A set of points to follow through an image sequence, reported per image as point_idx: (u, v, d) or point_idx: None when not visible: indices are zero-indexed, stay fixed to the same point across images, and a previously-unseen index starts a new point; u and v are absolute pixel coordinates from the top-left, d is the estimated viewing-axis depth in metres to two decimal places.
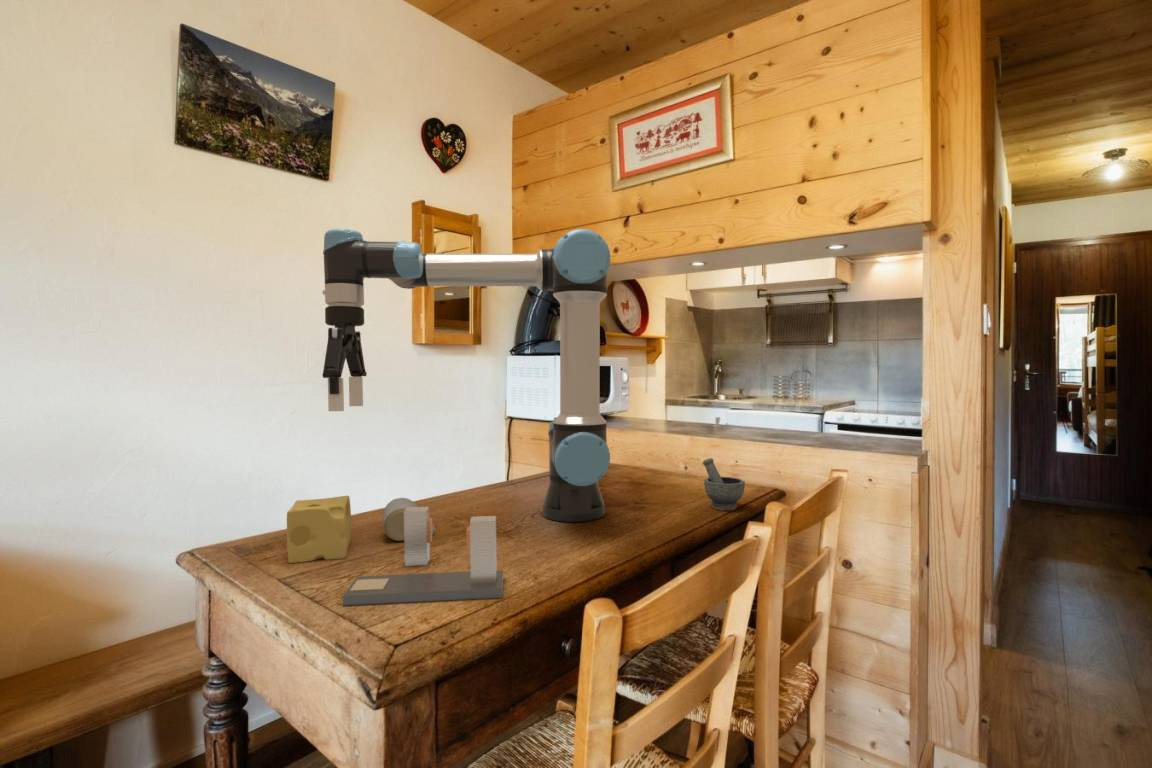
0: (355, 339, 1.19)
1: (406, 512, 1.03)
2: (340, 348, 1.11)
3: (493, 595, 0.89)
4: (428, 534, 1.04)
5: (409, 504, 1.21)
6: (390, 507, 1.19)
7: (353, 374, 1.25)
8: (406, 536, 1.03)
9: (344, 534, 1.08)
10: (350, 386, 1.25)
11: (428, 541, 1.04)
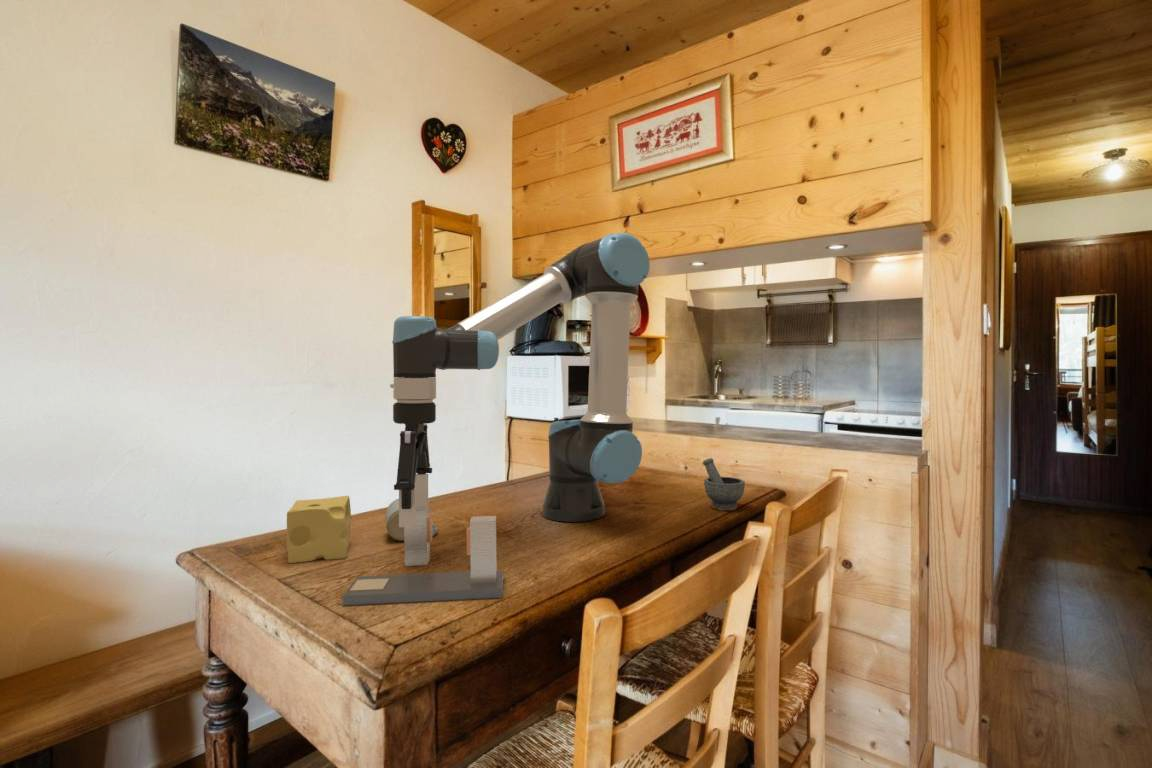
0: (425, 437, 1.05)
1: None
2: (414, 455, 0.97)
3: (493, 595, 0.89)
4: (428, 534, 1.04)
5: None
6: (393, 507, 1.20)
7: (418, 471, 1.11)
8: (406, 536, 1.03)
9: (344, 534, 1.08)
10: (415, 485, 1.11)
11: (428, 541, 1.04)
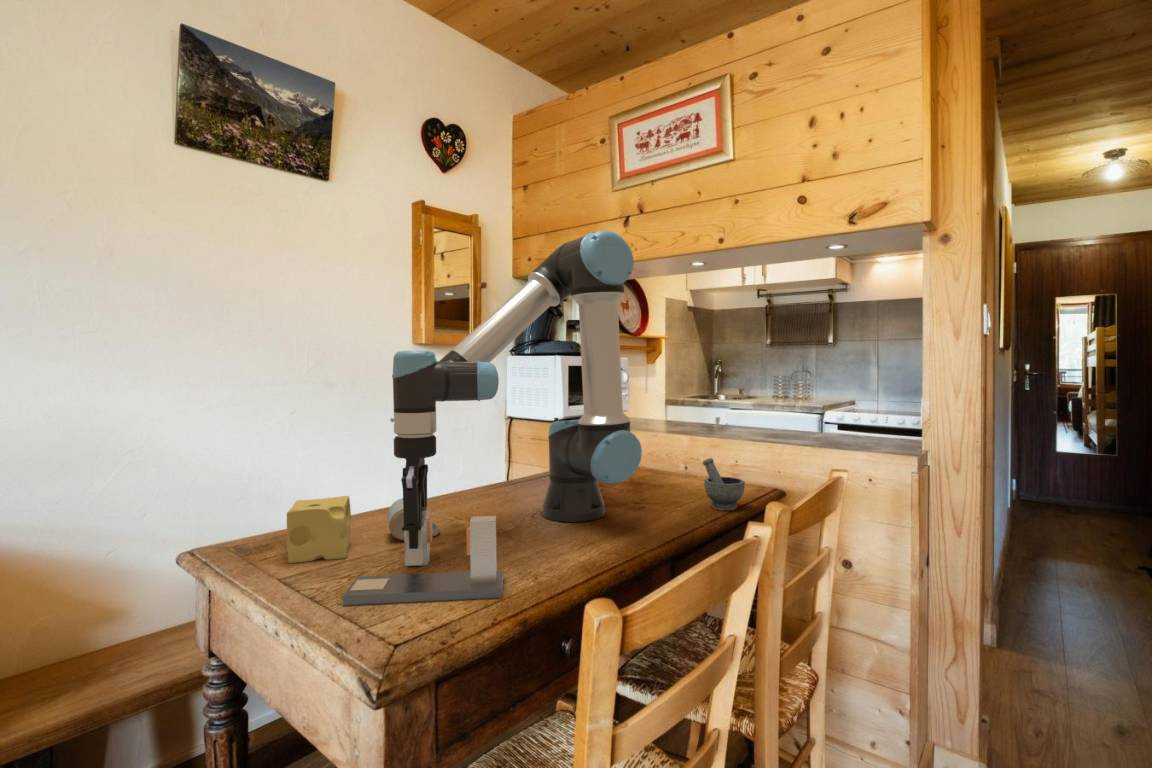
0: (426, 469, 1.05)
1: None
2: (417, 498, 1.00)
3: (493, 595, 0.89)
4: (428, 534, 1.04)
5: None
6: (395, 507, 1.20)
7: None
8: None
9: (344, 534, 1.08)
10: None
11: (428, 541, 1.04)
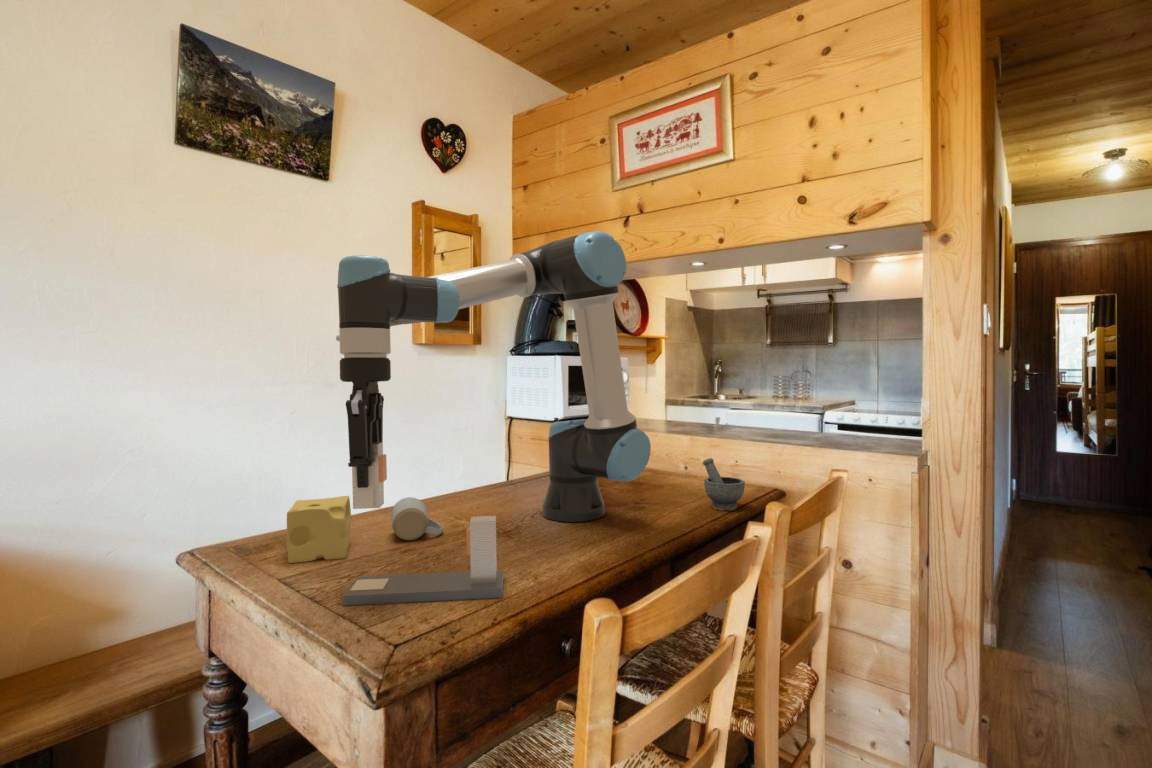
0: (378, 397, 0.90)
1: None
2: (366, 427, 0.85)
3: (493, 595, 0.89)
4: (380, 472, 0.89)
5: (417, 503, 1.21)
6: (399, 506, 1.20)
7: None
8: (354, 473, 0.88)
9: (344, 534, 1.08)
10: None
11: (380, 480, 0.89)
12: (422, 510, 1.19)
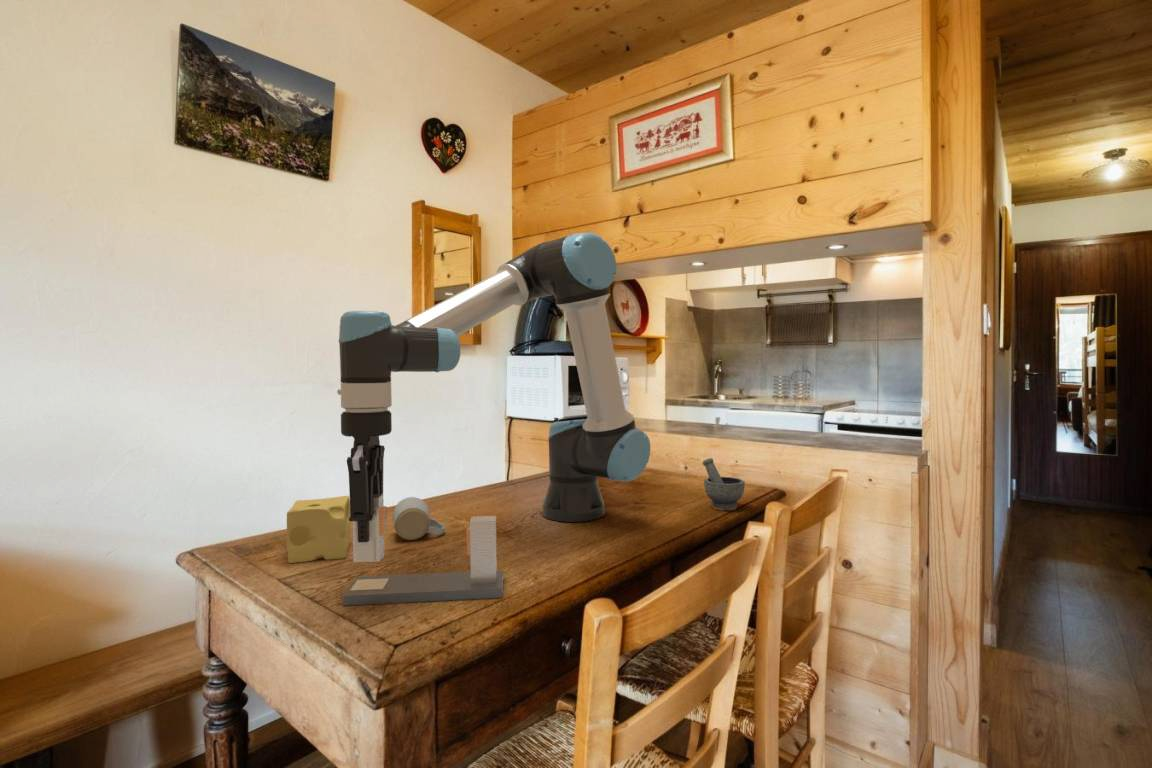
0: (379, 450, 0.91)
1: None
2: (366, 483, 0.85)
3: (493, 595, 0.89)
4: (381, 525, 0.89)
5: (419, 503, 1.21)
6: (401, 506, 1.20)
7: None
8: None
9: (344, 534, 1.08)
10: None
11: (381, 533, 0.89)
12: (424, 510, 1.19)
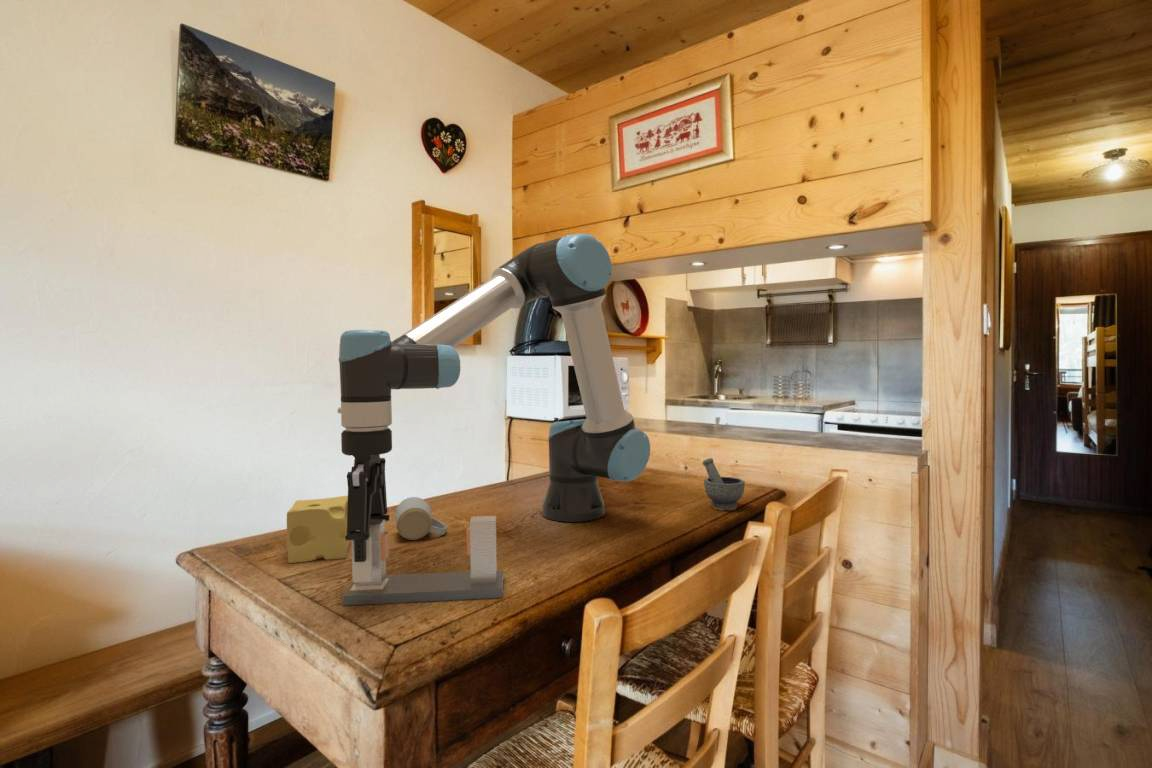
0: (380, 469, 0.91)
1: None
2: (365, 500, 0.84)
3: (493, 595, 0.89)
4: (382, 551, 0.89)
5: (421, 503, 1.22)
6: (403, 506, 1.20)
7: None
8: None
9: (344, 534, 1.08)
10: None
11: (382, 559, 0.89)
12: (426, 510, 1.19)
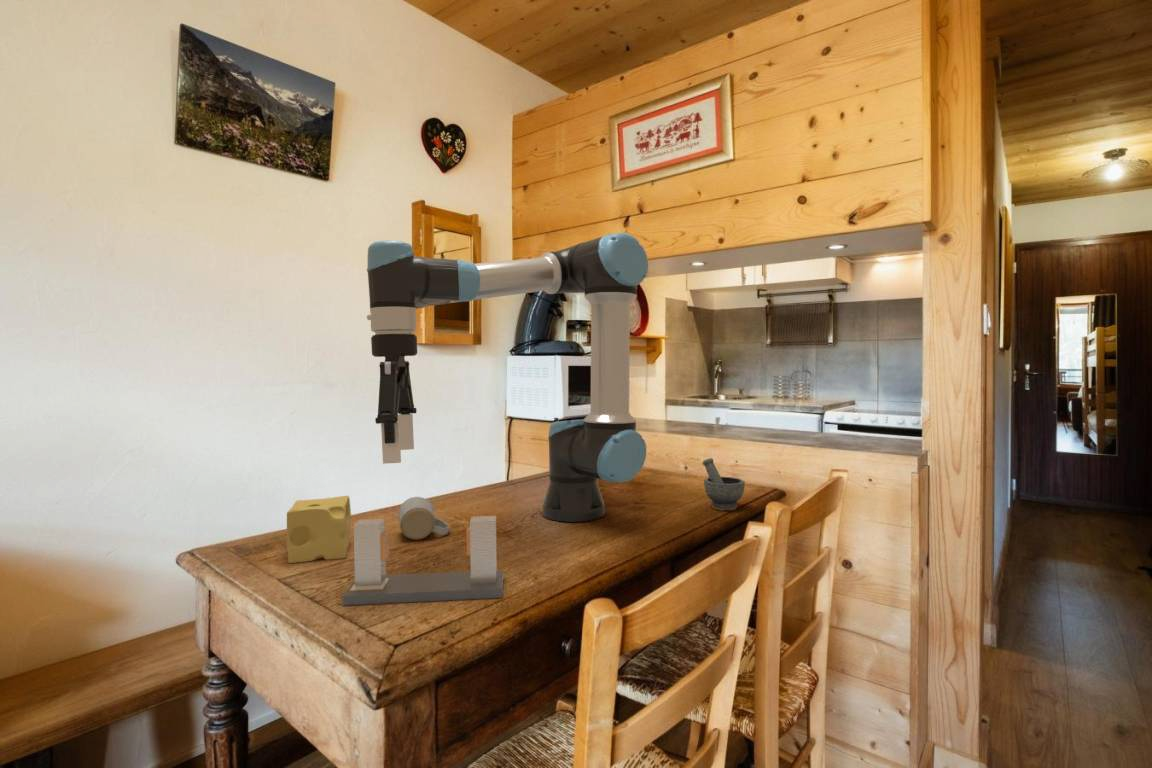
0: (407, 372, 0.99)
1: (356, 526, 0.89)
2: (395, 387, 0.91)
3: (493, 595, 0.89)
4: (382, 551, 0.89)
5: (424, 503, 1.22)
6: (406, 506, 1.20)
7: (401, 411, 1.06)
8: (356, 553, 0.89)
9: (344, 534, 1.08)
10: (399, 426, 1.05)
11: (382, 559, 0.89)
12: (429, 509, 1.20)
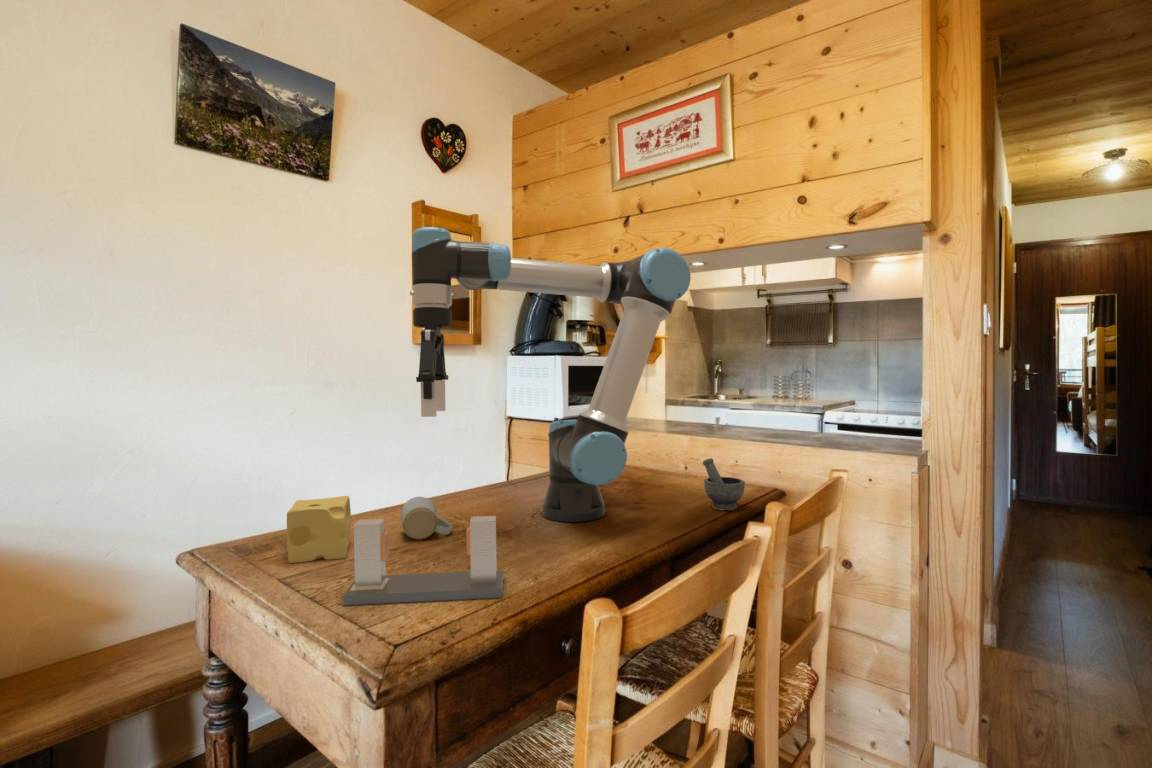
0: (442, 341, 1.15)
1: (356, 526, 0.89)
2: (433, 351, 1.07)
3: (493, 595, 0.89)
4: (382, 551, 0.89)
5: (427, 503, 1.22)
6: (408, 506, 1.20)
7: (435, 378, 1.21)
8: (356, 553, 0.89)
9: (344, 534, 1.08)
10: None
11: (382, 559, 0.89)
12: (432, 509, 1.20)
